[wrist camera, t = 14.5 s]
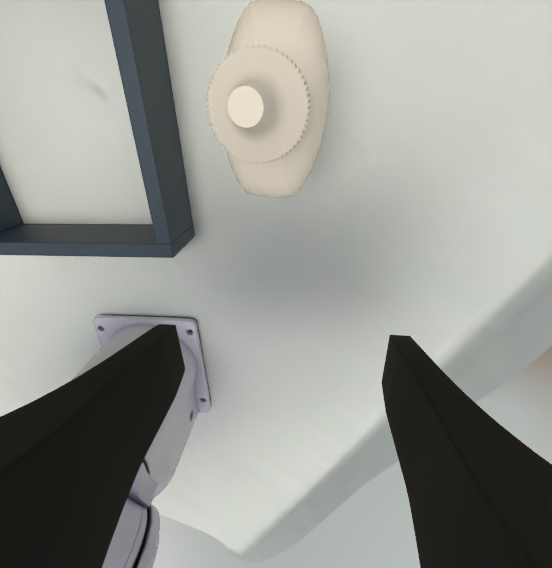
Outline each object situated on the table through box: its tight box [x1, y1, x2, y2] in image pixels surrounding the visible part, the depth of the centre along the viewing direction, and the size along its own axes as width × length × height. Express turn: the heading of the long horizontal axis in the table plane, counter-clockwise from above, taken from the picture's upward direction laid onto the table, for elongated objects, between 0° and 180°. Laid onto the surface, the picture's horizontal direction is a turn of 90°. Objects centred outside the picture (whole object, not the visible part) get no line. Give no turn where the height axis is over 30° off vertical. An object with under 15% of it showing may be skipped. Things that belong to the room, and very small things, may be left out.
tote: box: [0, 0, 194, 258], centre depth 16 cm, size 15×13×4 cm
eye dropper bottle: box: [206, 0, 329, 198], centre depth 11 cm, size 4×6×12 cm
